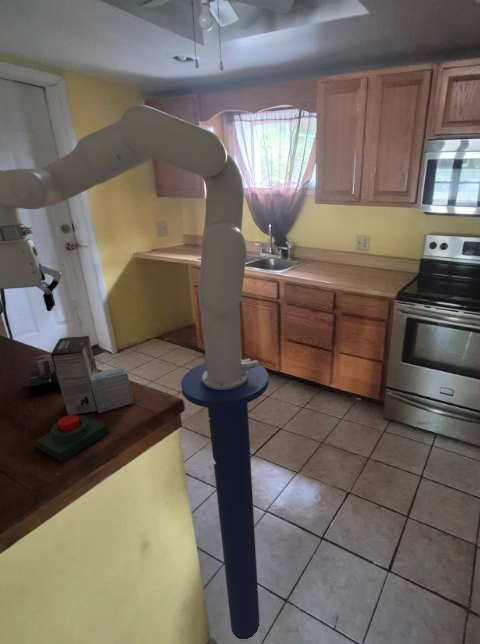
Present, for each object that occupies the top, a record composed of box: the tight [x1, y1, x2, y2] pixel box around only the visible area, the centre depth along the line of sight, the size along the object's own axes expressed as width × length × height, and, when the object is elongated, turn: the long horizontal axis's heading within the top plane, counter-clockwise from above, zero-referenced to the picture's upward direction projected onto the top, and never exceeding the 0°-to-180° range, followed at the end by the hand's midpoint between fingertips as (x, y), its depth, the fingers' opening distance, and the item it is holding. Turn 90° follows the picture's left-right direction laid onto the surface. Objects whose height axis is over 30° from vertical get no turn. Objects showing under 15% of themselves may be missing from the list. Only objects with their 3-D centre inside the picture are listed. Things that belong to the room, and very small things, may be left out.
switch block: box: [35, 414, 108, 463], centre depth 77 cm, size 10×8×4 cm
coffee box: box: [50, 335, 98, 416], centre depth 87 cm, size 9×6×16 cm
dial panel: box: [28, 369, 61, 398], centre depth 98 cm, size 9×9×3 cm
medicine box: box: [90, 366, 135, 414], centre depth 89 cm, size 8×4×9 cm, turn 123°
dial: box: [34, 353, 57, 379], centre depth 97 cm, size 4×4×5 cm
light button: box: [57, 414, 80, 432], centre depth 76 cm, size 4×4×2 cm
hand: (25, 311), depth 84 cm, fingers open, 9 cm apart
